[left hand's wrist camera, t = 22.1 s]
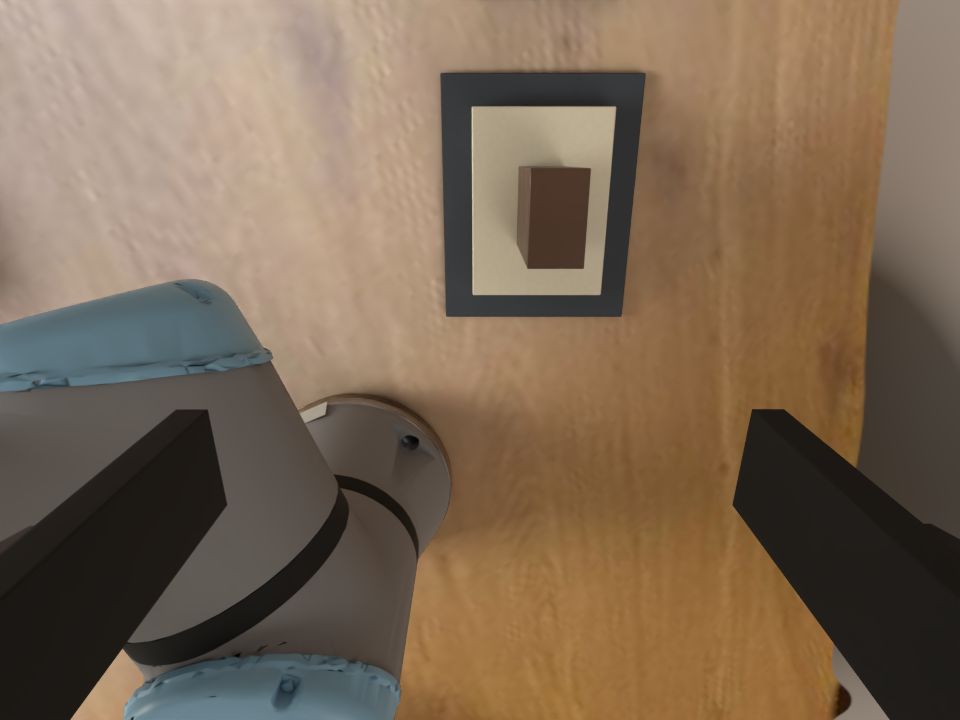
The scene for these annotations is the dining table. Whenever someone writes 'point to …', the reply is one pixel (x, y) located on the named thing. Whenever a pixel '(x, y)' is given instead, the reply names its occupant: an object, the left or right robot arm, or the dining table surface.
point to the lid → (540, 198)
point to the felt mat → (457, 183)
